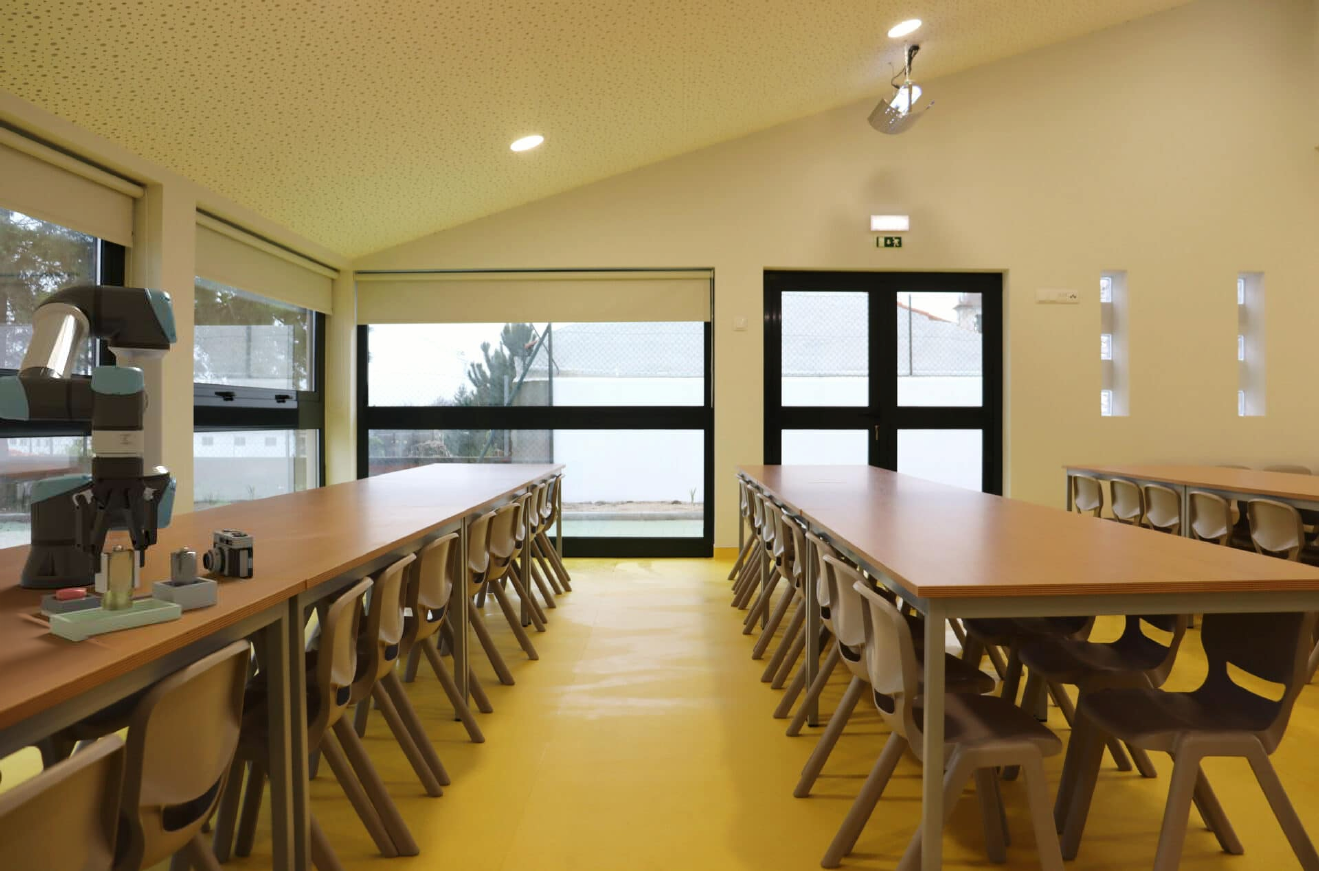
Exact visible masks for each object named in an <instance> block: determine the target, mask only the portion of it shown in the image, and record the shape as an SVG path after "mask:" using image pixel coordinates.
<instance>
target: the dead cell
mask: <svg viewBox="0 0 1319 871" xmlns="http://www.w3.org/2000/svg"><path fill="white" fill-rule="evenodd" d="M198 577H199V574H198V551H197V550H190V547H180V548H179V549H178V551H174V552H171V553H170V580H171V586H174V587H180V586H186V585H192V584H198Z"/></svg>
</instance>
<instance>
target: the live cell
mask: <svg viewBox="0 0 1319 871" xmlns="http://www.w3.org/2000/svg"><path fill="white" fill-rule="evenodd" d="M133 550H134V548H124V545H121V544H120V545H119V544H118V545H113V546H111V549H107V550H103V551H102V553H103V554H107V593H101V596H102V597H101V607H102V610H104V611H118V610H125V609H129V608H132V607H133V602H134V600H133V597H134V595H133V594H134V593H133V592H134V588H133Z"/></svg>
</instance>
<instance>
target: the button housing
mask: <svg viewBox="0 0 1319 871" xmlns="http://www.w3.org/2000/svg"><path fill="white" fill-rule="evenodd" d="M99 607H102V597H101V596H98V595H95V594H92V593H88V592H86V597H84V598H77V599H71V600H64V601H60V600H57V599H56V593H54V594H53V593H52V594H46V595H41V611H40V614H41V615H42V616H45V617H49V618H50V616H51V615H57V614H63V613H69V612H75V611H81V610H87V609H93V608H99Z"/></svg>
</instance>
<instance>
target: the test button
mask: <svg viewBox="0 0 1319 871" xmlns="http://www.w3.org/2000/svg"><path fill="white" fill-rule="evenodd" d="M86 593H87V588H86V587H72V588H71V587H67V588H63V589H62V588H61V589H58V590H56V593H55V594H56V599H57V600H60V601H64V600H71V599H77V598H84V597H86Z"/></svg>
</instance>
